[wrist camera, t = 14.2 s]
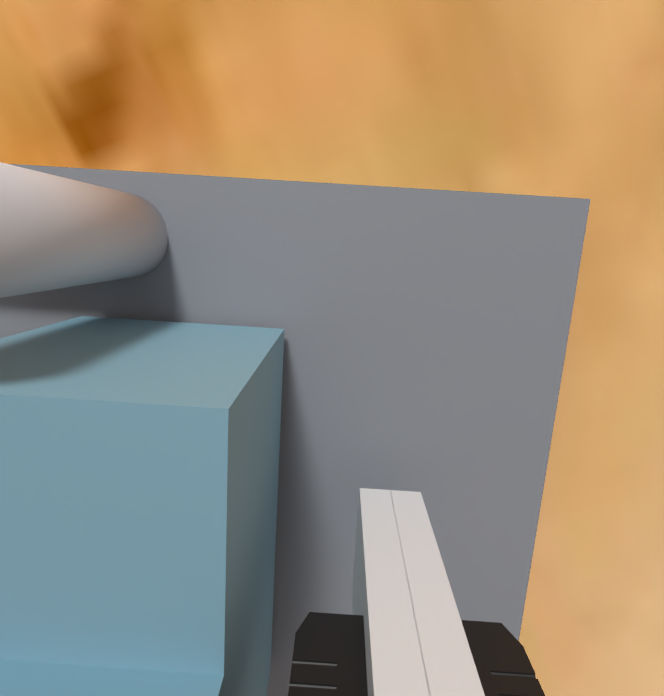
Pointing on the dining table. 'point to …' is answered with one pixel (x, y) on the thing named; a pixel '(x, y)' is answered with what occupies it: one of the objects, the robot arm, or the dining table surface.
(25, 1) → the dining table surface
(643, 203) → the dining table surface
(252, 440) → the block
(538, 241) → the pin plate
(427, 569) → the robot arm
